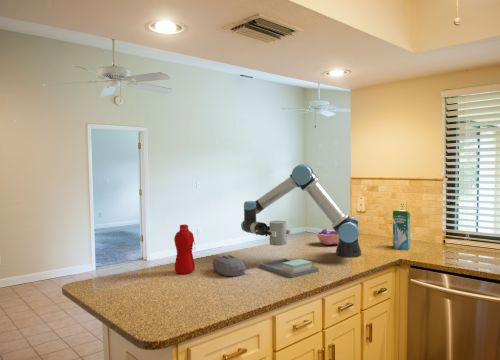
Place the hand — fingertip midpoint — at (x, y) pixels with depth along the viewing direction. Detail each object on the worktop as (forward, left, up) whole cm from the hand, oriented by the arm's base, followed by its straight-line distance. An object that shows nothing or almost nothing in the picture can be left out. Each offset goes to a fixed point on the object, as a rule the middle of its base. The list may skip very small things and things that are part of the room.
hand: (283, 233), depth 208 cm
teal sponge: (-12, +13, -17) cm, 25 cm away
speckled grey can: (+4, -2, -7) cm, 8 cm away
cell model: (-11, -66, -18) cm, 70 cm away
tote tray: (-6, +10, -18) cm, 21 cm away
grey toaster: (+22, +22, -18) cm, 36 cm away
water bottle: (+43, +31, -18) cm, 56 cm away
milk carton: (-57, -71, -18) cm, 93 cm away
